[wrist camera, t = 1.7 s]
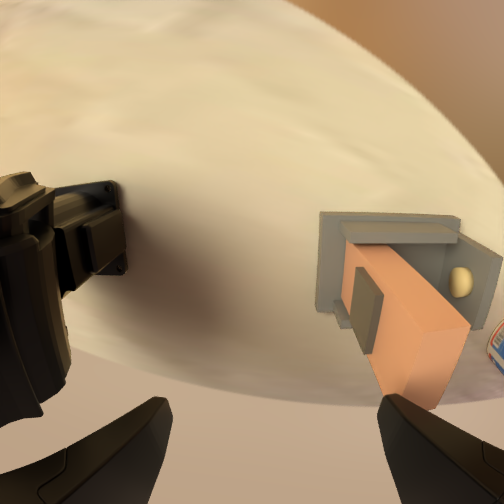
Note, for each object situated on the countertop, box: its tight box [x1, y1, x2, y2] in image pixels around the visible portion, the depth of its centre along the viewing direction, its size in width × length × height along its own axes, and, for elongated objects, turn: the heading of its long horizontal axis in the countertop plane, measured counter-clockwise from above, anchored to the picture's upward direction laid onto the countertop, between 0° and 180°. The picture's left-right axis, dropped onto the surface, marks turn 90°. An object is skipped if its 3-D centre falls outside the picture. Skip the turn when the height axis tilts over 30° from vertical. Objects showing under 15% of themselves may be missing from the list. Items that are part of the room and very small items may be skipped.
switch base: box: [315, 212, 503, 331], centre depth 16 cm, size 10×6×6 cm, turn 91°
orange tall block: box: [341, 240, 471, 411], centre depth 13 cm, size 2×4×10 cm, turn 1°
